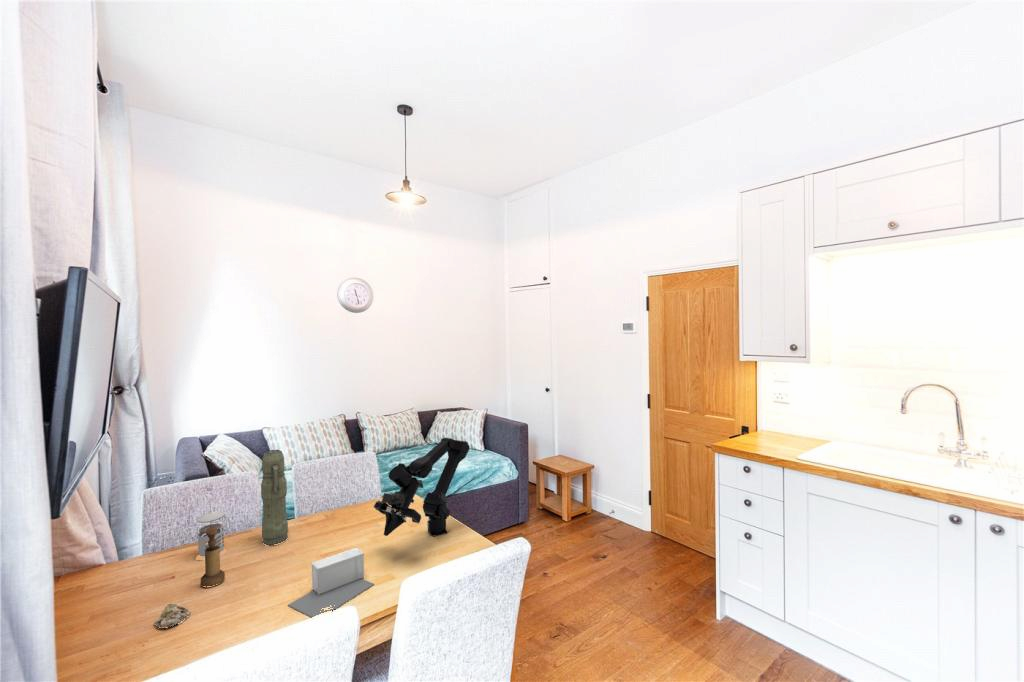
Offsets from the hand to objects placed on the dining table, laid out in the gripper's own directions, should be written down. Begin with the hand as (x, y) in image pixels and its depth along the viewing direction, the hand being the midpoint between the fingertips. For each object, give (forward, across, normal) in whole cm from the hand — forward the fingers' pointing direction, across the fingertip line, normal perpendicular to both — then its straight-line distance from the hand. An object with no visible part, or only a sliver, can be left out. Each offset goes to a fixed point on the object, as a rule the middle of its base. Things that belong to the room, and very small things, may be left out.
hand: (385, 535), depth 152 cm
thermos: (+13, -52, +1) cm, 53 cm away
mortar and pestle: (+32, -40, -19) cm, 55 cm away
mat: (+22, 0, -9) cm, 24 cm away
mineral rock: (+43, -30, -30) cm, 60 cm away
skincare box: (+10, -1, -3) cm, 11 cm away
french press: (+25, -62, -11) cm, 68 cm away
